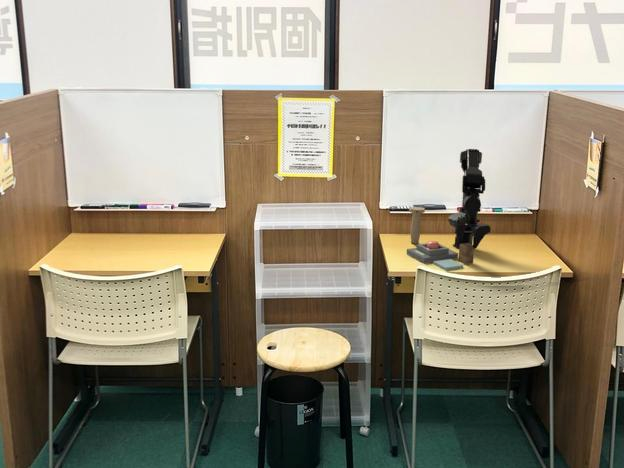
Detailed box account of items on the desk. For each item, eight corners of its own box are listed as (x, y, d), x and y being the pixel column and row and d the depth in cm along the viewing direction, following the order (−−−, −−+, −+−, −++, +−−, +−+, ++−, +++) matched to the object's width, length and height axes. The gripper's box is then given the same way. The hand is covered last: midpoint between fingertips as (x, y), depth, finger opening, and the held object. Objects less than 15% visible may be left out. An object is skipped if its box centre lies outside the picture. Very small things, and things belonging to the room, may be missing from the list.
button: (433, 249, 269) (434, 240, 268) (440, 252, 265) (440, 243, 264) (424, 250, 267) (425, 241, 266) (430, 253, 263) (431, 244, 262)
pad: (450, 261, 261) (450, 258, 260) (462, 267, 254) (463, 265, 253) (432, 263, 257) (433, 261, 257) (445, 270, 251) (445, 267, 250)
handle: (422, 245, 280) (425, 210, 275) (407, 244, 280) (409, 209, 276) (422, 241, 284) (424, 207, 280) (406, 241, 285) (409, 206, 281)
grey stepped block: (439, 249, 275) (440, 240, 274) (457, 258, 264) (458, 248, 263) (406, 253, 268) (407, 244, 267) (423, 263, 258) (424, 253, 257)
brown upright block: (466, 260, 263) (468, 242, 261) (473, 263, 259) (474, 245, 257) (458, 261, 261) (459, 244, 259) (464, 264, 258) (466, 247, 256)
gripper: (438, 201, 259) (435, 240, 263) (468, 213, 242) (464, 254, 247) (462, 199, 263) (458, 237, 268) (493, 210, 247) (489, 251, 251)
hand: (467, 245), depth 258 cm, fingers open, 9 cm apart
